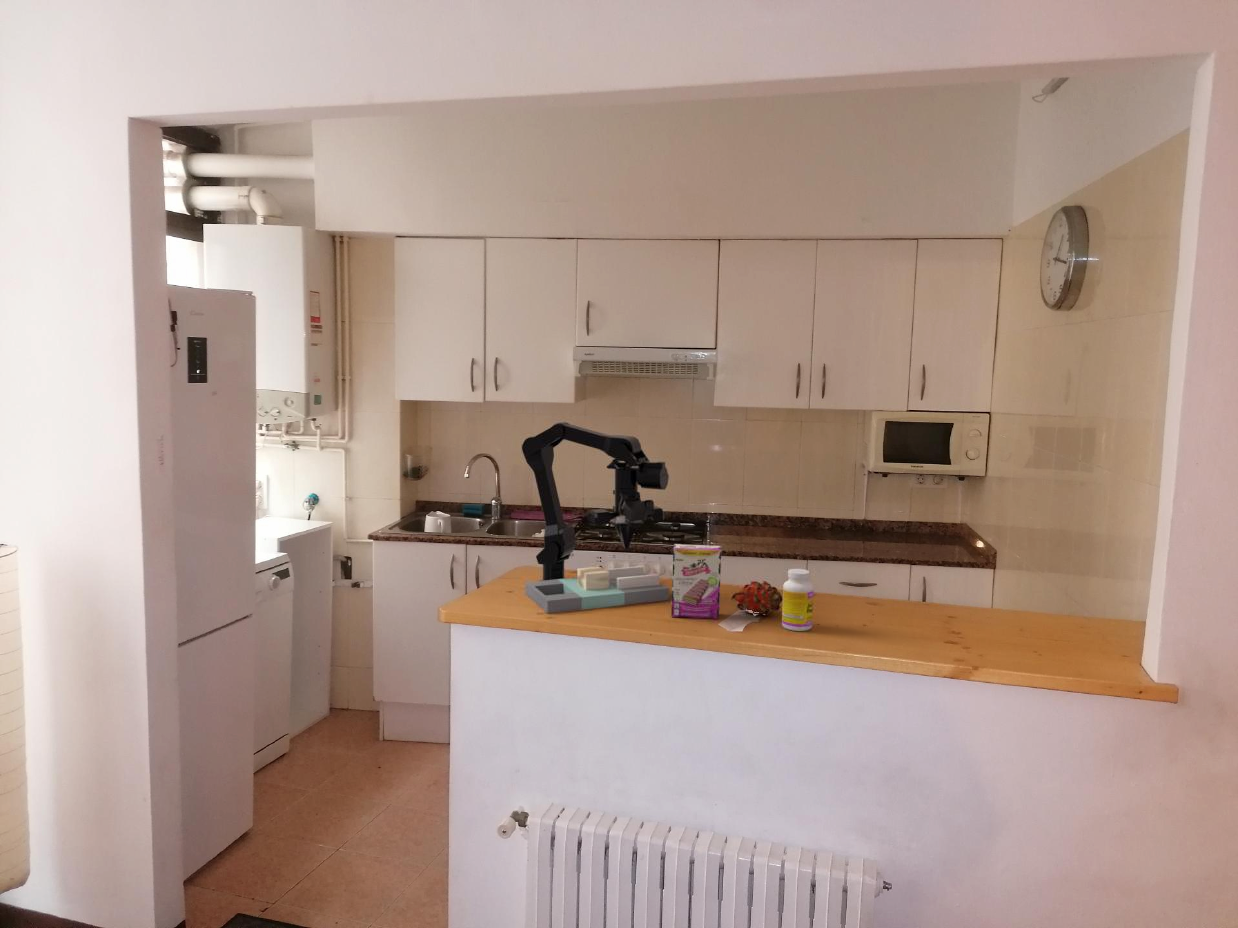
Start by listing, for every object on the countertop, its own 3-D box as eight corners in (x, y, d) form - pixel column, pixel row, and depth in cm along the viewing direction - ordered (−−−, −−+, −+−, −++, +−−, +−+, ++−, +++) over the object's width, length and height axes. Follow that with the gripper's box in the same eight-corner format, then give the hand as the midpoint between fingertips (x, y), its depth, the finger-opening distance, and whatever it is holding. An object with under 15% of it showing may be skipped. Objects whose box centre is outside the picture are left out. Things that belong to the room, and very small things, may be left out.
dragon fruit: (785, 624, 201) (734, 626, 204) (786, 595, 207) (736, 598, 211) (780, 600, 196) (727, 603, 199) (780, 572, 202) (729, 575, 205)
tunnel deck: (525, 593, 219) (525, 572, 218) (639, 582, 231) (639, 562, 230) (547, 613, 202) (547, 590, 202) (669, 599, 214) (669, 578, 214)
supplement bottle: (809, 633, 189) (811, 575, 188) (779, 629, 191) (781, 573, 190) (814, 624, 195) (816, 569, 194) (784, 621, 198) (786, 566, 196)
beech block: (577, 584, 217) (577, 568, 216) (599, 582, 219) (599, 566, 219) (586, 590, 211) (586, 574, 211) (608, 587, 214) (608, 571, 213)
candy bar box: (671, 617, 200) (672, 548, 198) (671, 611, 205) (673, 543, 203) (720, 619, 199) (721, 549, 197) (719, 613, 203) (721, 544, 201)
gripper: (603, 493, 205) (603, 558, 207) (674, 489, 212) (673, 552, 214) (586, 487, 215) (586, 549, 217) (654, 483, 223) (654, 543, 224)
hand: (625, 548), depth 218 cm, fingers closed
